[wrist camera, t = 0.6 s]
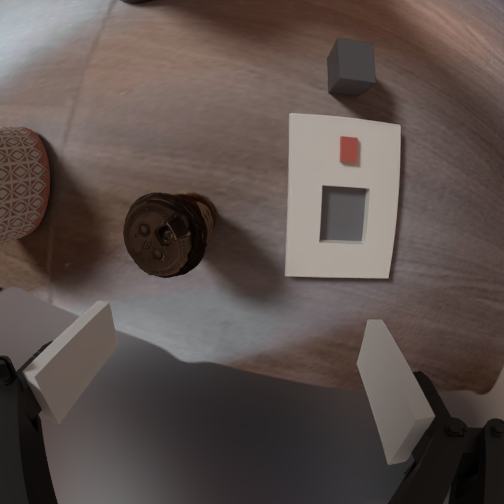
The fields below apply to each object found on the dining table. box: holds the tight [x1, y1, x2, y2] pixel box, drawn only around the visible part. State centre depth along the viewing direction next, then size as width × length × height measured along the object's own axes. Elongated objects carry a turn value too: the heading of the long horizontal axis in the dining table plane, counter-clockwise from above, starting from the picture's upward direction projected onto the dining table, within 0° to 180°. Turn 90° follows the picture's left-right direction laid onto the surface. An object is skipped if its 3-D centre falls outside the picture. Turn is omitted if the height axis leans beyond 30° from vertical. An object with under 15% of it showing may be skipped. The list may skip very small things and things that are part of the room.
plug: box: [327, 38, 376, 96], centre depth 28 cm, size 5×4×7 cm
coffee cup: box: [123, 192, 215, 278], centre depth 32 cm, size 9×8×13 cm
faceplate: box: [285, 113, 401, 278], centre depth 34 cm, size 20×14×3 cm
